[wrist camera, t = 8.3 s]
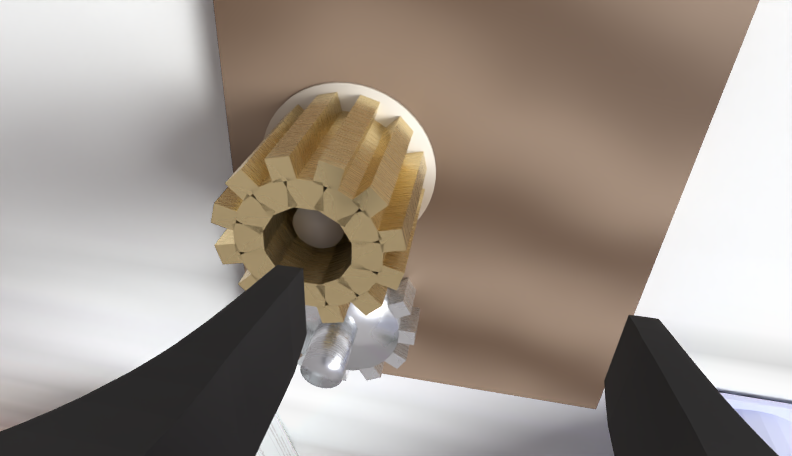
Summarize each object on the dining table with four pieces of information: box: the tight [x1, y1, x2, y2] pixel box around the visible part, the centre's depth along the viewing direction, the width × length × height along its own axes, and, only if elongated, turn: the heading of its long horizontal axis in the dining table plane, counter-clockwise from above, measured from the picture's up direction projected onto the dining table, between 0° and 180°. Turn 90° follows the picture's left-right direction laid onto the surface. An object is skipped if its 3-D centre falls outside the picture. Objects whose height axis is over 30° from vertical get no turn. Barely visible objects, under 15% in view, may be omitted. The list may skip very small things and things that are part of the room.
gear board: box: [213, 0, 759, 409], centre depth 19 cm, size 18×16×6 cm
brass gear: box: [211, 92, 427, 323], centre depth 18 cm, size 6×6×5 cm
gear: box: [297, 277, 420, 388], centre depth 22 cm, size 6×6×4 cm
